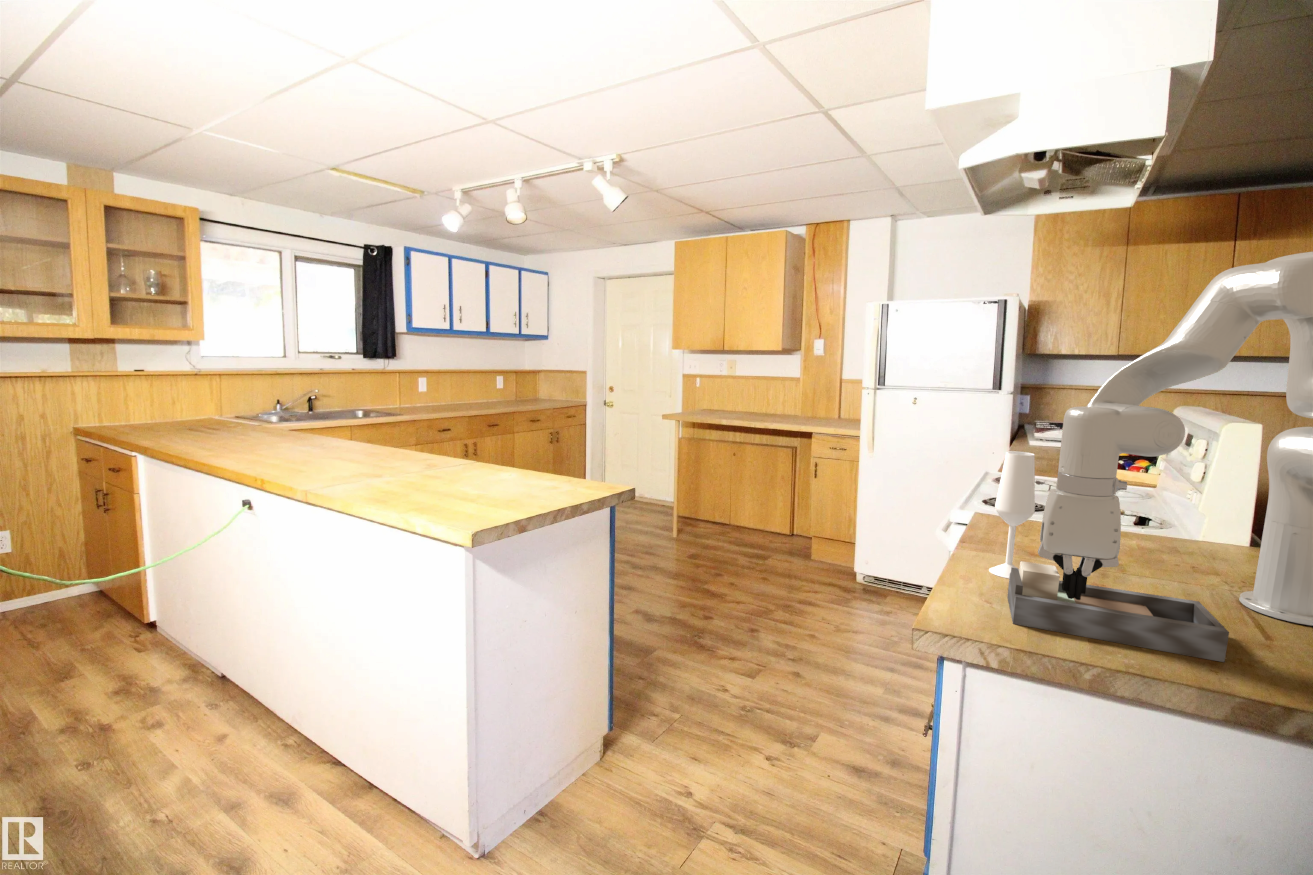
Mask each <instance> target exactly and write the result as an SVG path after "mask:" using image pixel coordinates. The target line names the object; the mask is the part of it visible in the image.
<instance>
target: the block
mask: <svg viewBox="0 0 1313 875" xmlns="http://www.w3.org/2000/svg"><path fill="white" fill-rule="evenodd" d="M1018 569H1019V573H1020V577H1021V580H1022V584H1023V592H1022V595H1026V596H1032V597H1038V598H1044V599H1050V600H1057V595H1058V587H1059V580H1060V576H1061V575H1060V574H1059V571H1058V569H1057V567H1056V565H1051V564H1045V563H1043V564H1042V563H1036V562H1029V561H1024V560H1023V561H1022V560H1021V561H1020V562H1019V568H1018Z"/></svg>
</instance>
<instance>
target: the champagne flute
mask: <svg viewBox="0 0 1313 875" xmlns="http://www.w3.org/2000/svg"><path fill="white" fill-rule="evenodd" d="M1035 456H1036V454H1034V453H1031V452H1029V451H1027V452H1026V451H1019V450H1016V451H1014V450H1009V451H1005V456H1004V460H1003V464H1002V465H1003V466H1002V470H1001V474H1000V475H1001V476H1000V480H999V485H998V489H997V494H996V499H995V504H994V509H995V512H996V513H997V515H998V516H999V517H1000V518H1001V519H1002V521H1004V522H1005V523H1006V525H1008V534H1007V546H1006V555H1005V562H1004V563H1002V564H997V565H996V566H992V567H990V568H989V569H988V571H989V573H990V574H992V575H995V576H998V577H1001V578H1004V579H1005V578H1006V579H1009V577H1010V573H1011V567H1012V568H1018V567H1017V566H1015V565H1014V564H1013V562H1014V552H1015V540H1016V532H1017V527H1018V526H1020V525H1022V524H1023V523H1025V522H1027V521H1029V520H1030V519H1031V518H1033V517H1032V516H1033V515H1034V514H1035V510H1036V505H1035V504H1036V502H1035V501H1036V500H1035V499H1036V495H1035V493H1036V491H1035V490H1036V489H1035V488H1036V487H1035V486H1036V485H1035V484H1036V483H1035V480H1036V479H1035V478H1036V476H1035V475H1036V474H1035V472H1036V470H1035V469H1036V468H1035V462H1036V461H1035V460H1036V459H1035V458H1036V457H1035ZM1019 569H1020V568H1018V570H1019Z"/></svg>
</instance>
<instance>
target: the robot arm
mask: <svg viewBox="0 0 1313 875" xmlns="http://www.w3.org/2000/svg"><path fill="white" fill-rule="evenodd" d="M1271 320H1272V321H1273V320H1275V321H1276V320H1283V322H1285V324H1286V326H1287V329H1288V331H1289V337H1290V340H1289V341H1290V346H1289V348H1290V349H1289V350H1290V351H1289V357H1288V358H1289V360H1288V369H1287V370H1288V371H1287V381H1286V392H1285V395H1286V396H1285V397H1286V405H1287V407H1288V409H1289V410H1290V411H1291V412H1292V413H1293V414H1294V415H1297V416H1299V417H1303V418H1308V419H1313V251H1308V252H1300V253H1294V254H1289V255H1284V256H1280V257H1276V258H1273V259H1270V260H1267V261H1266V262H1259V263H1254V264H1246V265H1245V264H1244V265H1239V266H1236V267H1231V268H1228V269H1226V270H1223V271H1221V272H1220V273H1218V274H1217V275H1216V276H1215V277H1213V278H1212V279H1211V281H1210V282H1209V283H1208V284H1207V286H1206V287H1205V288H1204V289H1203V291H1202V292H1201V293H1200V294H1199V296H1197V299H1196V300H1195V301H1194V302H1193V304H1192V305H1191V306H1190V308H1189V309H1188V311H1187V312H1186V313H1185V314H1184V316H1183V317H1182V318H1181V320H1179V323H1178V324H1177V325H1176V326H1175V327H1174V329H1172V331H1171V333H1170V334H1169V335H1168V336H1167V337H1166V339H1165V340H1164V341H1163V342H1162V343H1161V344H1159V345H1158V346H1156V347H1154V348H1153V349H1151V350H1148V351H1147V352H1145V353H1144V354H1142V355H1140V356H1139V357H1137V358H1136V359H1134V360H1133V361H1131V362H1130V363H1128V364H1126V365H1125V366H1123V367H1121V369H1119V370H1117V371H1116V372H1115V373H1114V374H1112V375H1111V376H1110V377H1108V379H1106V380H1105V382H1104V383H1103V384H1101V386H1100V388H1099V389H1098V390H1097V392H1096V393H1095V394H1094V395H1093V397H1092V398H1091V400H1090V401H1089V402H1088V404H1087V405H1086V406H1073V407H1070V408H1068V409H1067V410H1066V411H1065V413H1064V416H1063V423H1062V432H1061V442H1060V451H1059V458H1058V468H1057V470H1058V471H1057V479H1056V487H1055V488H1050V489H1049V493H1048V495H1047V499H1046V501H1045V505H1044V509H1043V515H1042V522H1041V526H1040V535H1039V540H1040V545H1039V548H1038V549H1037V554H1038V556H1039V557H1040V558H1044V559H1047V560H1049V561H1052V562H1055V564H1057V565H1058V567H1060V568H1061V570H1062V571H1063V572H1062V573H1063V574H1062V580H1061V581H1062V590H1063V591H1066V594H1067V597H1068V598H1069V599H1072V598H1075V599H1076V600H1080V599H1081V594H1085V592H1086V584H1087V585H1088V578H1089V577H1090V576H1091V574H1093V573H1095V572H1096V571H1098V570H1099V569H1101V568H1116V567H1118V566H1119V565H1120V563H1119V557H1118V556H1119V555H1120V548H1121V538H1122V537H1121V535H1122V532H1121V531H1122V529H1121V528H1122V526H1121V525H1122V522H1121V520H1122V519H1121V518H1122V517H1121V503H1120V502H1121V501H1120V498H1119V496H1118V495H1117V492H1118V491H1127V489H1128V482H1127V481H1123V480H1121V479H1119V478H1118V477H1117V476H1118V475H1117V473H1118V467H1119V466H1118V465H1119V457H1120V455H1121V454H1126V455H1134V456H1141V457H1151V458H1152V457H1160V456H1164V455H1168V454H1170V453H1172V452H1174V451H1175V450H1177V449H1178V448H1179V447H1180V446H1181V444H1182V443H1183V442H1184V441H1185V440H1184V439H1185V438H1186V427H1185V424H1184V422H1183V421H1182V419H1181V418H1180V417H1179V416H1178V415H1176V414H1175V413H1174V412H1171V411H1169V410H1168V409H1167V410H1166V409H1164V408H1158V407H1150V406H1142V405H1141V404H1142V403H1143V402H1145V401H1146V400H1148V399H1149V398H1151V397H1152V396H1154V395H1156V394H1158V393H1160V392H1161V391H1164V390H1166V389H1169V388H1172V387H1174V386H1179V385H1181V384H1186V383H1188V382H1189V383H1190V382H1192V381H1193V382H1194V381H1196V380H1199V379H1202V378H1206V377H1208V376H1211V375H1214V374H1216V373H1219V372H1220V371H1222V370H1224V369H1225V368H1226V367H1227V366H1228V365H1229V364H1230V362H1231V361H1232V359H1233V358H1234V357H1235V355H1236V354H1237V353H1238V352H1239V350H1240V349H1241V348H1242V346H1243V345H1244V344H1245V342H1246V341H1247V340H1248V339H1249V337H1250V336H1251V335H1252V334H1253V332H1254V331H1255V330H1256V328H1257V327H1258V326H1259V324H1261V323H1262V322H1265V321H1271ZM1266 462H1267V463H1266V464H1267V472H1268V497H1267V498H1268V499H1267V505H1266V511H1265V512H1266V513H1265V518H1264V523H1263V524H1264V525H1263V531H1262V536H1261V543H1260V548H1259V549H1260V550H1259V556H1258V560H1257V567H1256V573H1255V577H1254V578H1255V579H1254V585H1253V590H1250V591H1249V590H1247V591H1243V592H1242V593H1240V594H1239V598H1238V599H1239V602H1240V603H1241V604H1242V605H1243V606H1245V607H1246V608H1248V609H1250V610H1252V611H1255V612H1257V613H1258V614H1259V613H1260V614H1263V615H1265V616H1268V617H1271V618H1273V619H1274V618H1275V619H1278V620H1282V621H1287V622H1289V623H1294V624H1300V625H1306V626H1311V627H1313V426H1301V427H1300V426H1299V427H1293V428H1290V429H1286V430H1283V431H1282V432H1279V433H1278V434H1277V435H1275V436H1274V437H1273V439H1271V441H1270V443H1269V444H1268V448H1267V452H1266ZM1073 557H1077V558H1080V561H1079V564H1078V567H1077V568H1076V569H1074V566H1073Z"/></svg>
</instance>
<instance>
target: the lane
mask: <svg viewBox="0 0 1313 875" xmlns="http://www.w3.org/2000/svg"><path fill="white" fill-rule="evenodd" d="M1018 569H1019V568H1018V567H1017V568H1012V567H1011V573H1010V577H1009V578H1008V588H1007V601H1008V602H1007V603H1008V607H1009V612H1010V616H1011V621H1012V624H1013V625H1019V626H1023V627H1024V626H1025V627H1029V628H1034V629H1040V630H1045V631H1052V632H1057V633H1063V634H1068V635H1072V636H1073V635H1074V636H1077V637H1085V638H1089V639H1096V640H1099V641H1105V642H1111V643H1112V642H1113V643H1117V644H1121V645H1128V646H1132V647H1133V646H1134V647H1140V648H1145V649H1149V650H1154V651H1155V650H1156V651H1161V652H1167V653H1172V654H1175V655H1176V654H1177V655H1183V656H1187V657H1193V658H1200V659H1205V660H1208V661H1209V660H1210V661H1216V662H1220V663H1221V662H1222V663H1226V662H1225V660H1226V654H1227V648H1228V642H1229V636H1230V632H1229V630H1227V628H1225V626H1223V624H1222V623H1221V622H1220V621H1219V620H1217V618H1216V617H1215V616H1214V615H1213V614H1212V613H1211V612H1210V611H1209V610H1208V609H1207V608H1206V606H1204V605H1203V604H1202V603H1201V602H1200V601H1198V600H1191V599H1185V598H1178V597H1172V596H1167V595H1166V596H1164V595H1158V594H1153V593H1146V592H1138V591H1132V590H1125V589H1118V588H1114V587H1113V588H1112V587H1105V586H1098V585H1094V584H1093V585H1092V584H1088V583H1087V584H1086V592H1085V594H1081V599H1080V600H1076V599H1075V598H1072V599H1069V598H1068V597H1067V594H1066V591H1063V590H1062V580H1060V579H1059V587H1058V595H1057V600H1050V599H1044V598H1038V597H1032V596H1026V595H1022V592H1023V584H1022V580H1021V577H1020V573H1019V570H1018Z"/></svg>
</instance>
